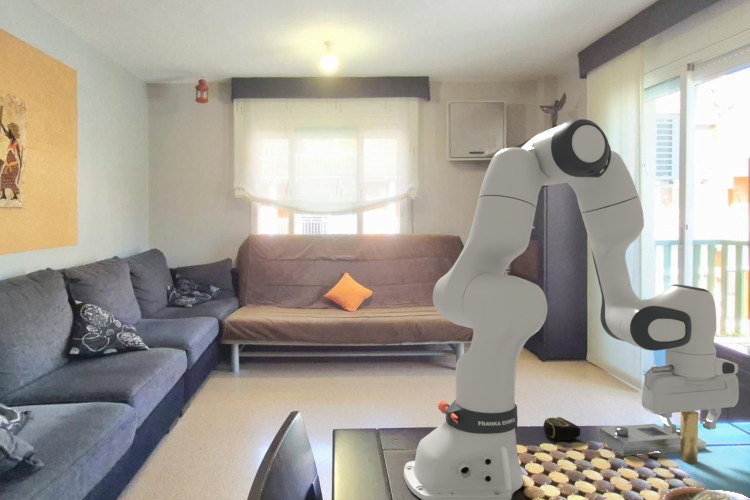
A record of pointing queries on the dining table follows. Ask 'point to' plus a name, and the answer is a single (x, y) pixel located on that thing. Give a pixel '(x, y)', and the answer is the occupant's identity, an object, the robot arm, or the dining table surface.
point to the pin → (689, 437)
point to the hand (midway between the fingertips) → (689, 430)
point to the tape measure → (560, 429)
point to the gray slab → (642, 439)
